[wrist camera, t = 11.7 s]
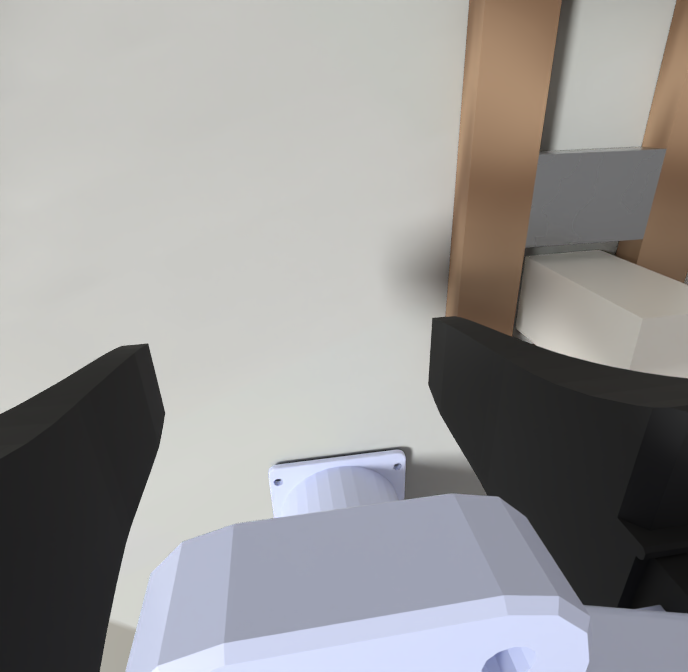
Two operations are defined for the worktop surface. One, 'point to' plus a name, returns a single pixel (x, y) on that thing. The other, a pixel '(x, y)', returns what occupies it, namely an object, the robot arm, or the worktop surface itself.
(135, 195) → the worktop surface
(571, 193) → the socket panel
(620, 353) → the plug
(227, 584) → the robot arm
